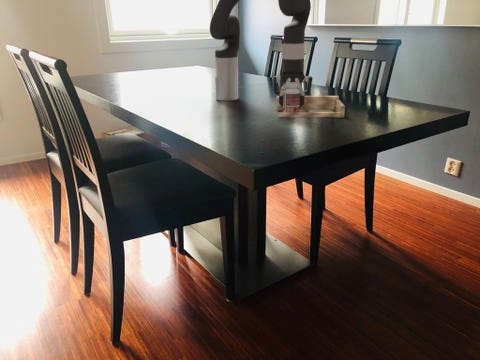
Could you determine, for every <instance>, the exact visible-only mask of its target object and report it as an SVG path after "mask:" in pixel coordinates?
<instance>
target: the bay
mask: <svg viewBox="0 0 480 360" xmlns="http://www.w3.org/2000/svg"><path fill="white" fill-rule="evenodd" d="M275 104H276V111H280V112H277V118H345V113H346V112H345V108H346V105H345V104H344V103H343V102H342V101H341V100H340V98H339V95H305V97H304V105H302V106H300V112H283V106H281V105H280V104H279V95H277V96H276V103H275ZM308 110H333V112H308ZM304 111H305V112H304Z"/></svg>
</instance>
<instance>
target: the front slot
mask: <svg viewBox="0 0 480 360" xmlns="http://www.w3.org/2000/svg"><path fill="white" fill-rule="evenodd" d="M307 112H334V110H307Z"/></svg>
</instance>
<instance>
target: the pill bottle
mask: <svg viewBox="0 0 480 360" xmlns="http://www.w3.org/2000/svg"><path fill="white" fill-rule="evenodd" d="M286 85H287V88H286V90H285V91H284V94H283V110H282V112H301V110H300V95H301V93H300V90H299V88H298V85H299V84H298V83H297V82H287V84H286Z"/></svg>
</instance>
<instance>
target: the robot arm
mask: <svg viewBox="0 0 480 360" xmlns="http://www.w3.org/2000/svg"><path fill="white" fill-rule="evenodd" d="M240 1H241V0H218V2H217V4H216V8H214V11H213V14H212V17H211V20H210V23H209V34H210V36H211V38H212V39H214V40H218V41H219V40H223V44H222V45H221V46H219V48H217V49H215V51H214V57H215V58H214V59H215V60H214V61H215V77H214V78H215V100H216V101H223V102H225V101H226V102H228V101H236V100H238V99H239V66H238V64H239V63H238V62H239V61H238V60H239V59H238V58H239V57H238V55H239V51H240V50H239V49H240V37H241V36H240V35H241V34H240V33H241V30H240V29H241V28H240V27H241V26H240V21H239V19H238V17H237V16H236V15H234V14H231V13H232V11H233V10H234V7H235V6H236V5H237V4H238V3H239V2H240ZM277 2H278V3H277V4H278V7H279V10H280V12H281V14H283V15H284V16H285V17H292V19H291V22H290V23H289V24H286V25H285V26H284V28H283V45H282V50H281V52H282V54H281V57H282V59H281V74H280V75H279V76H278V75H277V76H275V75H274V76H272V82H273V83H272V85H273V93H274V95H277V96H279V104H280V105H281V106H283V94H284V91H285V90H286V88H287V85H286V84H287V82H297V83H298V84H299V85H298V88H299V90H300V93H301V94H300V106H302V105H304V97H305V96H308V95H309V94H311V90H312V84H313V77H312V76H311V75H309V76H308V75H305V71H304V70H305V54H306V53H305V52H306V51H305V38H306V35H305V34H306V33H305V31H306V28H307V24H308V21H309V17H310V14H311V13H310V12H311V8H312V5H311V4H312V3H311V2H312V1H311V0H278V1H277ZM280 80H281V82H282V83H283V85H282V86H281V88H280V90H278V83H280ZM304 80H305V82H306V88H305V90H304V89H303V86H302V83H303V81H304Z"/></svg>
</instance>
